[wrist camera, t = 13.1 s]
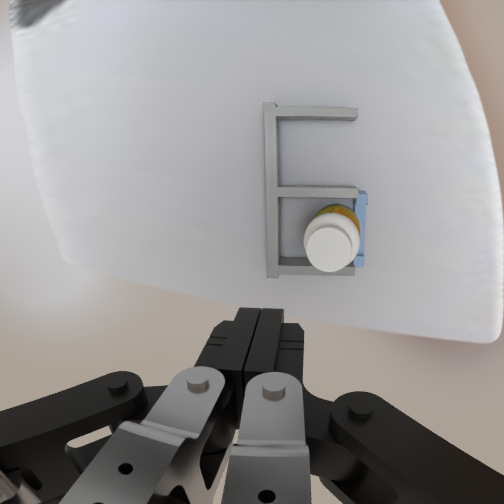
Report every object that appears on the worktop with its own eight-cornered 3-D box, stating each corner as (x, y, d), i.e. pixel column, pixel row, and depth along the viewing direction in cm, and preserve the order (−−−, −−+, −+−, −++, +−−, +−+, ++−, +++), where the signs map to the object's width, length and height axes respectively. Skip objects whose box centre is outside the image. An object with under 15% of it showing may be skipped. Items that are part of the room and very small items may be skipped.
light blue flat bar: (354, 190, 34) (356, 192, 33) (364, 191, 34) (367, 192, 32) (351, 262, 37) (353, 267, 35) (360, 262, 37) (363, 267, 35)
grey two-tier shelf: (266, 107, 33) (263, 102, 30) (353, 108, 32) (357, 103, 29) (270, 269, 38) (267, 278, 36) (350, 270, 37) (353, 279, 34)
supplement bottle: (335, 193, 34) (326, 205, 26) (370, 226, 34) (373, 250, 25) (304, 227, 37) (285, 250, 28) (337, 259, 36) (329, 292, 28)
